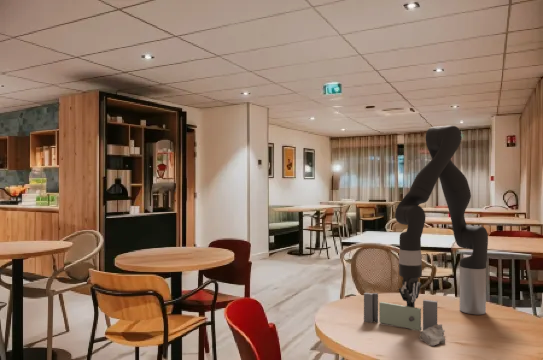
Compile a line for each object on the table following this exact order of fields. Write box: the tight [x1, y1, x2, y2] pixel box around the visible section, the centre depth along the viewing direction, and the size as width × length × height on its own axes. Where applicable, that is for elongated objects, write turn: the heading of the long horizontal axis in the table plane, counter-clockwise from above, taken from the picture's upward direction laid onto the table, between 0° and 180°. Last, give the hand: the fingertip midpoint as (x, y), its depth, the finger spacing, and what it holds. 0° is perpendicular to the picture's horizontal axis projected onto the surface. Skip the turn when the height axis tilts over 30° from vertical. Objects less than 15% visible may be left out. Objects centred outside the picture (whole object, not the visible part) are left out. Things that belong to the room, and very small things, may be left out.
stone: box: [418, 323, 446, 347], centre depth 134 cm, size 6×12×4 cm, turn 126°
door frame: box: [363, 292, 438, 331], centre depth 147 cm, size 3×24×10 cm, turn 64°
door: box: [378, 301, 422, 331], centre depth 145 cm, size 2×14×7 cm, turn 55°
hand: (410, 312), depth 146 cm, fingers closed
